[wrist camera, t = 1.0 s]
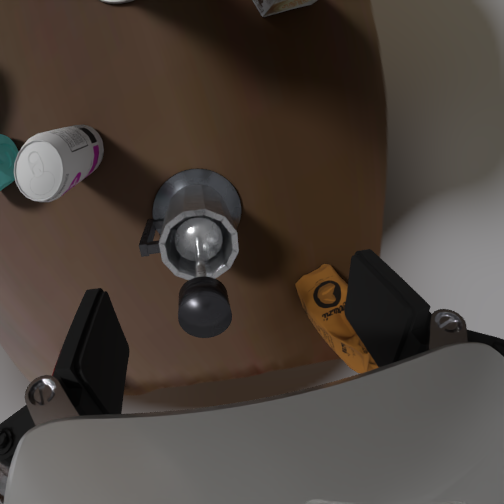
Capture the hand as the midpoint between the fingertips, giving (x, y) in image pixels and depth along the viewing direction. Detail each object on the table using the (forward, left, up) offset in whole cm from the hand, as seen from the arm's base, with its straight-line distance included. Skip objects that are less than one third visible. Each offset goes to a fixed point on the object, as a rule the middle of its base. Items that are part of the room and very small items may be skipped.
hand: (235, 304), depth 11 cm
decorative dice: (-6, -35, -37) cm, 51 cm away
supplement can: (-4, -19, -37) cm, 41 cm away
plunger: (+9, -2, -26) cm, 28 cm away
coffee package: (+28, +20, -37) cm, 50 cm away
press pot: (+9, -2, -36) cm, 38 cm away
